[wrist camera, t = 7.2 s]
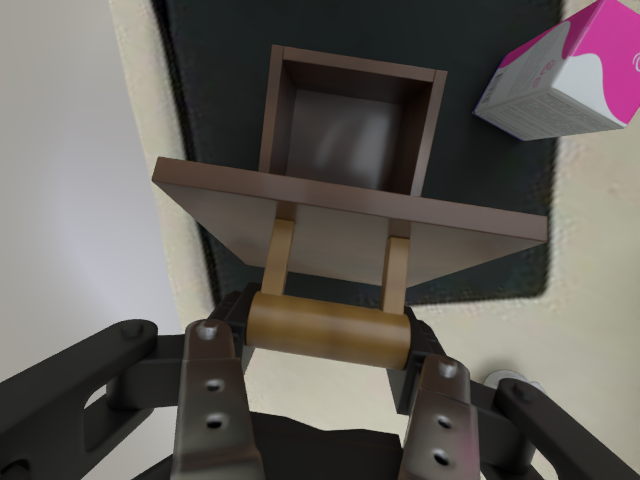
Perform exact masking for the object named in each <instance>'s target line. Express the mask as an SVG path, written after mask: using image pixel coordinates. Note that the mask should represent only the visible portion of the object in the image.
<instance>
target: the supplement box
mask: <svg viewBox="0 0 640 480" xmlns="http://www.w3.org/2000/svg"><path fill="white" fill-rule="evenodd" d="M639 107H640V15H639V14H637V13H636V12H634V11H633V10H631V9H629V8H628V7H626V6H625V5H623V4H622V3H620V2H619V1H617V0H597V1H596V2H594V3H592V4H591V5H589V6H587V7H586V8H584V9H582V10H581V11H579V12H577V13H576V14H574V15H572V16H571V17H569V18H567V19H566V20H564V21H562V22H561V23H559V24H557V25H556V26H554V27H552V28H551V29H549V30H547V31H546V32H544V33H542V34H541V35H539V36H537V37H536V38H534V39H532V40H531V41H529V42H527V43H526V44H524V45H523V46H521V47H519V48H517V49H516V50H514V51H512V52H511V53H509V54H507V55H505V56H504V57H503V59H502V61H501V62H500V64H499V66H498V67H497V69H496V71H495V73H494V74H493V76H492V78H491V80H490V81H489V83H488V85H487V87H486V88H485V90H484V92H483V94H482V95H481V97H480V99H479V101H478V103H477V104H476V106H475V108H474V110H473V112H472V114H474V115H475V116H477V117H479V118H480V119H482V120H484V121H486V122H488V123H490V124H492V125H493V126H495V127H497V128H499V129H501V130H502V131H504V132H506V133H507V134H509V135H511V136H513V137H515V138H517V139H518V140H520V141H526V140H535V139H542V138H550V137H559V136H567V135H575V134H583V133H591V132H599V131H608V130H615V129H624V128H625V127H626V126H627V125H628V123H629V122H630V120H631V119H632V117H633V116H634V114H635V113H636V111H637V110H638V108H639Z"/></svg>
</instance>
